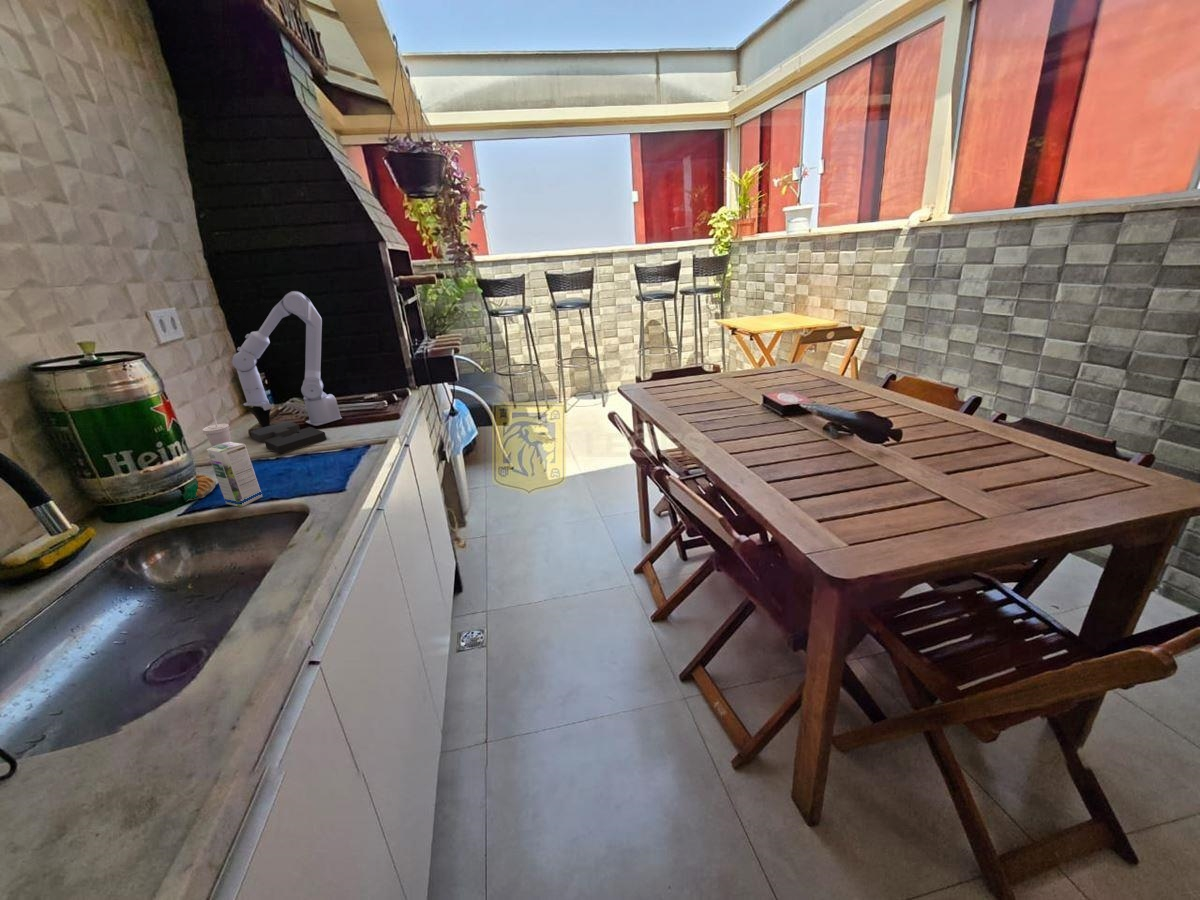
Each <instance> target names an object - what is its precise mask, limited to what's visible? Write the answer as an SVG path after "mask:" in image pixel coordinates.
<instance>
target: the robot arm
mask: <svg viewBox="0 0 1200 900" xmlns="http://www.w3.org/2000/svg"><path fill="white" fill-rule="evenodd" d="M291 314H293V315H295V316H297V317H298V318H299V319H300V320H302V321H303V322H304V323H305V358H304V359H305V360H304V361H305V364H304V365H305V366H304V368H305V369H304V379H303V380H302V385H301V388H300V392H301V394H302V396H303V402H304V405H305V409H306V412H307V415H308V419H307V420H306V421H305V423H306V424H309V425H311V426H314V427H319V426H323V425H325V424H328V423H333V422H335V421H339V420H342V419H343V417H342V416H341V412H340V408H339V404H338V401H337V399H336V397H335V395H333V394H332V393H329V394H327V393H326V392H324V391H323V389H324V383H323V380H322V378H321V372H322V371H321V365H322V364H321V363H322V361H321V360H322V331H323V330H322V329H323V327H322V326H323V319H322V317H321V315H320V313H319V312H318V310H317V309H316V307H315V306H314V304H313V302H312V301H311V300H310V298H309V297H307V295H305V294H303V293H302V292H300V291H298V290H292V291H290V292H288V293H286V294H285V295H284V296H283V297H282V299H281V300H280V301H279V302H278V303H276V304H275V305H274V307H272V309H271V311H270V312H269V314H268V316H267V317H266V319H265V320H264V322H263V323H262V325H261V326H260V327H259V329H258V330H256V331H255V330H254V331H251V332H250V333H247V334H246V335H245V336H244V338H245V340H244V342H243V343H242V344H241V346H238V347H237V349H236V351H237V352H236V353H235V354H234V355H233V357H232V359H231V364H232V366H233V367H234V368H235V369H236V373H237V374H238V379H239V382H240V385H241V389H242V391H243V395H244V397H245V400H246V402H244V403H243V406H244V407H248V408H247V409H248V411H249V412H250V413H251V414H252V415H253V416H254V418H255V419H256V420H257V422H258V424H259V425H260V428H263V427H266V426H270V425H271V418H270V417H271V410H272V406H271V403H270V401H269V398H268V396H267V393H266V390H265V387H264V385H263V380H262V378H261V375H260V372H259V370H258V367H257V363H258V360H259V359H260V358H261V357H262V355H263V354H264V352H265V351H266V349H267V348H268V347H269V345H270V344H271V341H270V337H269V336H270V335H271V333H272V332H273V331H274V330H275V328H276V327H277V326H278V324H279V323H280V321H281V320H282V319H283V318H285V317H288V316H291Z"/></svg>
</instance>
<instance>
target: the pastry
mask: <svg viewBox="0 0 1200 900" xmlns="http://www.w3.org/2000/svg"><path fill="white" fill-rule="evenodd" d="M195 476H196V478H197V482H198V484H197V485H198V489H197V492H196V496H199V497H197V498H194V499H188V500H187V501H186V502H188V501H194V500H198V499H203V498H206V496H207V495H210V493H212V492H213V491H214V489H215V488H216V484H217V481H216V480H215V479H213V477H210V476H209V475H206V474H197V475H195Z"/></svg>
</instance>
